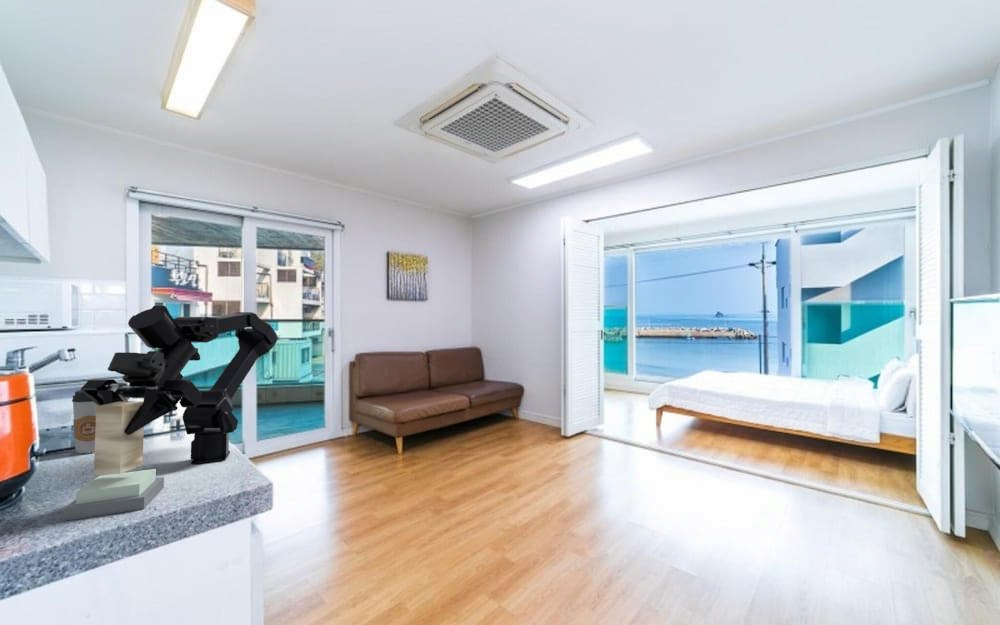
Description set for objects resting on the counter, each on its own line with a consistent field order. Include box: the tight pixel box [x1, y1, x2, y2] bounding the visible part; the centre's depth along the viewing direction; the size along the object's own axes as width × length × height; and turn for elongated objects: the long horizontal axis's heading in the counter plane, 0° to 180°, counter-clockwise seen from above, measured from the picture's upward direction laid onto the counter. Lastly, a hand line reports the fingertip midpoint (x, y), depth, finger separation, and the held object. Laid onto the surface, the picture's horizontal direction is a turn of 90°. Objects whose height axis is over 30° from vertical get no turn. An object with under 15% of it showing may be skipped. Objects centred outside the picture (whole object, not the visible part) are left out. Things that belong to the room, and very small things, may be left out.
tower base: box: [63, 468, 165, 522], centre depth 70 cm, size 10×10×4 cm
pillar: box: [93, 400, 145, 475], centre depth 71 cm, size 4×4×12 cm
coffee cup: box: [71, 389, 98, 454], centre depth 100 cm, size 8×8×15 cm
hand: (112, 433), depth 70 cm, fingers closed on pillar, 4 cm apart
